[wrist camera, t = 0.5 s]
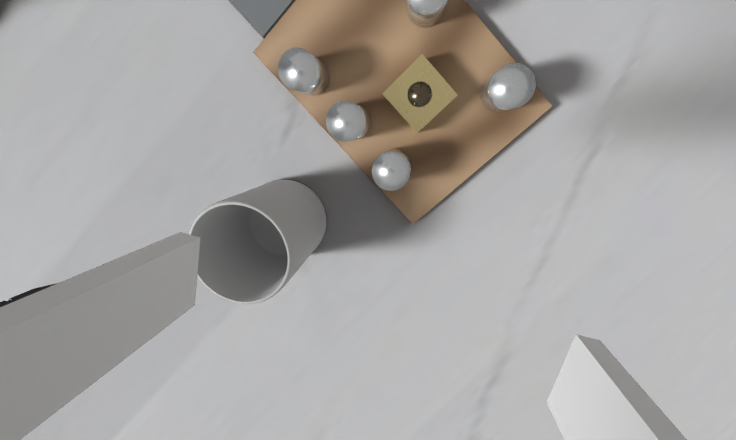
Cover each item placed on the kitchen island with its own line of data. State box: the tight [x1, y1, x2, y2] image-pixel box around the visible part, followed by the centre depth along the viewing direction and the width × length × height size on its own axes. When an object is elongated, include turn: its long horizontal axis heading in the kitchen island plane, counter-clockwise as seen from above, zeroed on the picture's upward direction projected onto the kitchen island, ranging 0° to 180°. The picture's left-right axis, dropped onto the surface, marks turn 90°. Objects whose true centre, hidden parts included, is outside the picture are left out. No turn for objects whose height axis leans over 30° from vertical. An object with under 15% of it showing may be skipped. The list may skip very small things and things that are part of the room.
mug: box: [189, 180, 327, 304], centre depth 32 cm, size 12×8×11 cm
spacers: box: [278, 0, 536, 191], centre depth 29 cm, size 18×14×4 cm
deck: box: [253, 0, 552, 224], centre depth 31 cm, size 22×16×1 cm
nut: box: [383, 54, 457, 133], centre depth 30 cm, size 4×4×3 cm
